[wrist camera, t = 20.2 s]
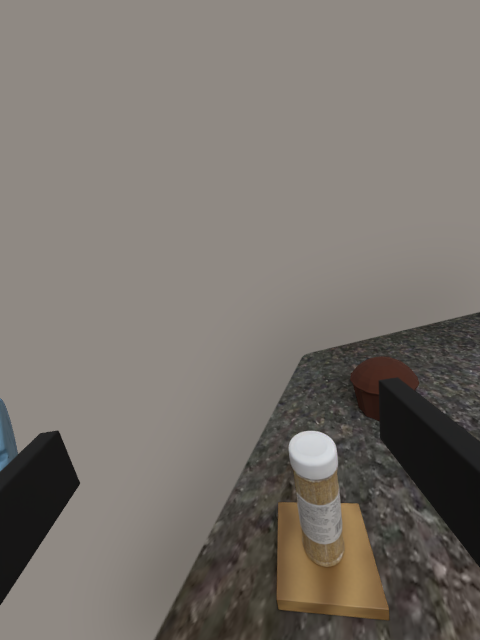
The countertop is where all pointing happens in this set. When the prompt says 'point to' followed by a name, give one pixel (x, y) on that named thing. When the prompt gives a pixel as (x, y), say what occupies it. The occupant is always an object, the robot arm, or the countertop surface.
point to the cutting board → (328, 570)
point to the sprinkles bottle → (318, 496)
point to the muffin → (368, 381)
